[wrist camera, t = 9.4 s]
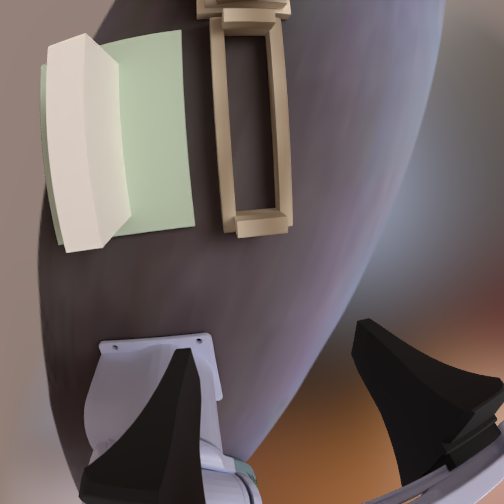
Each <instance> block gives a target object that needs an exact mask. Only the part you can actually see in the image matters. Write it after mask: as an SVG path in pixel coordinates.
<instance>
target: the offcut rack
mask: <svg viewBox="0 0 504 504" xmlns="http://www.w3.org/2000/svg"><path fill="white" fill-rule="evenodd" d="M290 15H291V10H290V2H289V0H197V20H199V19H210V23H209V28H210V52H211V72H212V90H213V107H214V122H215V136H216V150H217V163H218V176H219V188H220V200H221V211H222V222H223V230H224V233H229V232H236V234H237V236H238V238H244V237H253V236H262V235H271V234H281V233H288V226H293V218H292V181H291V155H290V134H289V116H288V100H287V86H286V72H285V60H284V49H283V38H282V28H281V19H285V20H287V19H288V17H289V16H290ZM224 36H265V40H266V52H267V65H268V79H269V93H270V109H271V125H272V143H273V162H274V183H275V207H276V208H268V209H257V210H247V211H237V212H236V210H235V196H234V183H233V169H232V155H231V140H230V125H229V110H228V94H227V77H226V60H225V42H224Z"/></svg>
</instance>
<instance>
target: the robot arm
mask: <svg viewBox="0 0 504 504" xmlns="http://www.w3.org/2000/svg"><path fill="white" fill-rule="evenodd" d="M196 339H202V340H200V341H197V340H196ZM113 345H115V346H117V347H114V346H113ZM99 349H100V352H101V356H100V359H99V362H98V365H97V368H96V371H95V374H94V377H93V379H92V383H91V386H90V389H89V392H88V395H87V398H86V402H85V407H84V425H85V431H86V435H87V438H88V440H89V443H90V445H91V447H92V448H93V450H94V451H93V453H92V456H91V459H90V462H89V465H88V466H87V467H86V468H84V472H83V475H82V479H81V484H80V491H79V498H80V499H81V500H82V504H262V500H261V497H260V494H259V491H258V489H257V487H256V485H255V483H254V482H253V480H252V479H251V478H250V477H249V476H247V475H245V474H243V473H241V472H236V471H235V465H234V459H233V458H231V457H227V456H225V455H223V451H222V444H221V437H220V430H219V422H218V414H217V405H216V401H219V400H221V399H222V398H223V395H222V390H221V385H220V380H219V375H218V370H217V364H216V359H215V354H214V348H213V343H212V337H211V335H210V334H208V333H198V334H188V335H179V336H168V337H156V338H144V339H129V340H111V341H101V342H100V344H99ZM351 354H352V357H353V359H354V362H355V365H356V367H357V370H358V372H359V374H360V376H361V378H362V380H363V382H364V383H365V385H366V387H367V389H368V391H369V392H370V394H371V396H372V398H373V400H374V401H375V403H376V405H377V407H378V409H379V411H380V413H381V415H382V418H383V420H384V423H385V426H386V428H387V431H388V434H389V437H390V440H391V443H392V446H393V449H394V453H395V456H396V460H397V464H398V469H399V473H400V478H401V484H402V487H401V488H399V489H398V490H395V491H393V492H390V493H388V494H385V495H383V496H381V497H378V498H376V499H373V500H370V501H368V502H365V503H362V504H402V503H404V502H406V501H408V500H410V499H412V498H414V497H416V496H418V495H420V494H422V493H423V494H422V495H421V496H420V497H419V498H417V499H415V500H413V501H411V502H410V503H408V504H475V503H477V502H478V501H479V500H480V499H481V498H483V497H484V496H485V495H486V494H487V493H489V492H490V491H491V490H492V489H493V488H494V487H495V486H497V485H498V484H499V483H500V482H501V481H502V480H503V479H504V421H503V422H501V423H500V424H499V425H498V426H497V425H496V424H495V422H496V421H497V418H496V416H495V415H494V414H495V413H496V411H497V410H498V409H499V407H500V406H501V405H502V404H503V402H504V383H503V382H502V381H501V379H500V378H496V377H490V376H484V375H479V374H475V373H470V372H467V371H464V370H461V369H458V368H455V367H452V366H449V365H447V364H444V363H442V362H440V361H438V360H436V359H433V358H431V357H429V356H428V355H426V354H424V353H422V352H420V351H419V350H417V349H415V348H413V347H412V346H410V345H408V344H407V343H405V342H404V341H402V340H400V339H399V338H398V337H396V336H395V335H393V334H392V333H390V332H389V331H387V330H386V329H385V328H383V327H382V326H380V325H379V324H377V323H376V322H374V321H373V320H371V319H369V318H368V319H364V320H359V321H357V326H356V331H355V337H354V342H353V348H352V353H351Z"/></svg>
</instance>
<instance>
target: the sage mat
mask: <svg viewBox="0 0 504 504" xmlns="http://www.w3.org/2000/svg"><path fill="white" fill-rule="evenodd" d="M100 47H101V48H102V49H103V50H104V51H105V52H106V53H107V54H109V55H110V56H111V57H112V58H113V59H114V60H115V61H116V62H117V63H118V64H119V102H120V121H121V135H122V147H123V157H124V166H125V175H126V183H127V190H128V197H129V204H130V210H131V217H130V218H129V219H128V220H127V221H126V222H125V223H124V224H123V225H122V226H121V228H120V229H119V230H118V231H117V232H116V233H115V234H114V235H113V236H112V237H114V236H122V235H129V234H136V233H143V232H151V231H159V230H166V229H174V228H182V227H191V226H195V219H194V210H193V201H192V192H191V182H190V171H189V160H188V149H187V136H186V122H185V107H184V89H183V66H182V32H181V30H176V31H168V32H162V33H155V34H149V35H144V36H138V37H134V38H129V39H124V40H120V41H116V42H112V43H108V44H104V45H100ZM46 72H47V64H44V65H42V66H41V80H40V119H41V121H40V122H41V139H42V152H43V161H44V170H45V178H46V185H47V191H48V197H49V203H50V209H51V214H52V219H53V224H54V228H55V233H56V237H57V241H58V245H62V244H64V242H63V237H62V233H61V229H60V224H59V219H58V214H57V209H56V203H55V198H54V192H53V185H52V178H51V171H50V162H49V152H48V141H47V124H46Z"/></svg>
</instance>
